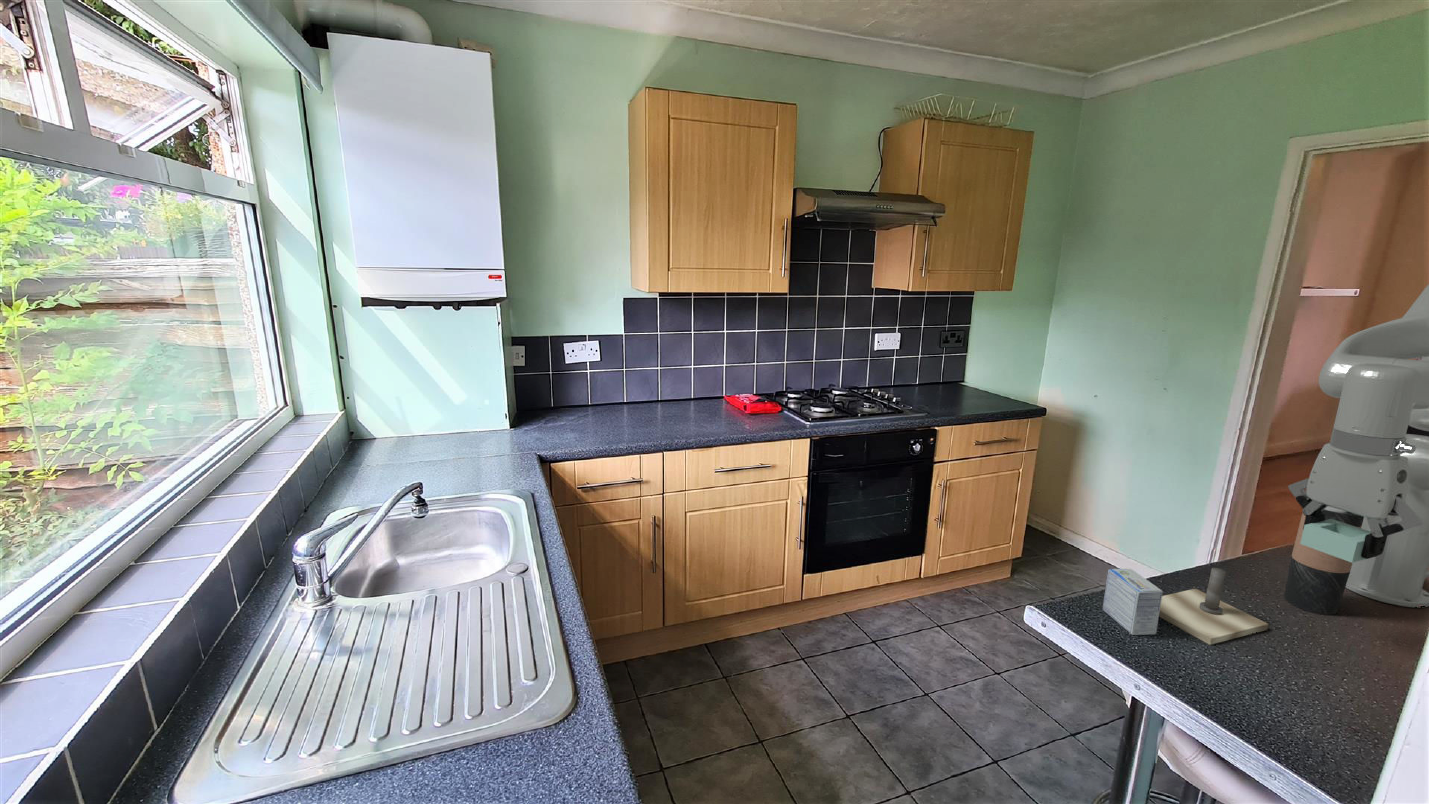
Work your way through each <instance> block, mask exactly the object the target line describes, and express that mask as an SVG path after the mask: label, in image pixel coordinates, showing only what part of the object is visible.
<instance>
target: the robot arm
mask: <svg viewBox="0 0 1429 804" xmlns="http://www.w3.org/2000/svg"><path fill="white" fill-rule="evenodd" d="M1415 359H1416V360H1415ZM1418 359H1422V360H1418ZM1318 386H1319V387H1320V390H1321V391H1322V392H1323V393H1324V394H1325V395H1327V396H1330V397H1332V398H1336V399H1339V402H1338V406H1337V412H1336V415H1335V420H1334V424H1333V428H1332V432H1331V436H1330V440H1329V442H1328V443H1325V444H1323V446H1322V447H1321V448H1322V449H1320V451H1319V453H1318V455H1317V457H1316V459H1315V461H1314V464H1313V465H1312V469H1311V471H1310V473H1309V477H1306V478H1304V479H1302V480H1299V481H1297V482H1294V483H1292V484H1289V485H1287V486H1288V487H1287V488H1288V489H1289V491H1290V492H1291V494H1292V495H1293V496H1294V497H1295V501H1296V502H1297V503H1298V505H1300V507H1301V508H1302V513H1304V514H1306V517H1305V522H1304V525H1306V524H1311V523H1316V522H1321V521H1324V520H1325V514H1323V513H1322V511H1323V510H1324V509H1325V508H1326V507H1327V506H1330V507H1334V508H1337V509H1340V510H1343V511H1347V512H1350V513H1353V514H1357V515H1360V516H1364V519H1363V523H1362V527H1361V529H1365V530H1368V531H1371V534H1367V535H1366V536H1365V542H1364V546H1363V550H1362V554H1361V556H1362V558H1365V559H1364V560H1360V561H1356V562H1353V563H1352V567H1351V571H1350V574H1349V577H1348V580H1347V584H1346V587H1345V589H1348V590H1350V591H1351V592H1353V593H1356V594H1359V595H1361V596H1364V597H1365V598H1369V599H1372V600H1375V601H1378V602H1382V603H1386V604H1390V605H1394V606H1395V605H1396V606H1399V607H1406V608H1415V607H1417V606H1419V605H1424V606H1425V607H1424V608H1427V607H1429V592H1428V591H1426V590H1425V589H1423V586H1424V583H1425V580H1426V579H1428V578H1429V436H1427V435H1421V434H1413V433H1412V434H1410V433H1407V431H1408V428H1409V427H1411V428H1415V429H1417V430H1421V431H1424V432H1429V284H1427V286H1426V287H1425V288H1424V289H1423V291H1422V292H1421V293H1420V294H1419V296H1418V297H1417V298H1416V299H1415V301H1414V302H1413V303H1412V305H1411V306H1410V307H1409V309H1408V310H1407V312H1406V313H1405V314H1404V315H1403V316H1402V317H1400V318H1397V319H1393V320H1389V321H1387V322H1384V323H1383V322H1382V323H1381V324H1377V325H1375V326H1371V327H1368V328H1366V329H1363V330H1360V331H1357V332H1355V333H1353V334H1350V335H1349V336H1348V337H1346V338H1344V340H1342V342H1341V343H1340V344H1339V345H1338V346H1337V347H1336V348H1335V350H1334V351H1333V352H1332V353H1331V354H1330V356H1329V357H1328V358H1327V359H1326V361H1325V363H1324V364H1323V366H1322V367H1321V370H1320V373H1319V375H1318ZM1303 530H1304V526H1303ZM1378 555H1379V556H1378ZM1417 608H1418V607H1417Z"/></svg>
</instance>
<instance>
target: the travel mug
mask: <svg viewBox="0 0 1429 804" xmlns="http://www.w3.org/2000/svg"><path fill="white" fill-rule="evenodd" d="M1322 513H1323V514H1325V520H1328V519H1333V520H1336V521H1339V522H1342V523H1346V524H1349V525H1352V526H1355V527H1358V528H1361V527H1362V523H1363V519H1364V516H1360V515H1357V514H1353V513H1350V512H1347V511H1343V510H1340V509H1337V508H1334V507H1330V506H1327V507H1326V508H1325V509H1324V510H1323V511H1322ZM1305 517H1306V514H1304V513H1303V512H1302V513H1301V517H1300V521H1299V526H1298V529H1297V532H1296V533H1297V534H1296V538H1295V541H1294V544H1293V549H1292V553H1291V557H1290V561H1289V567H1288V573H1287V578H1286V582H1285V590H1284V595H1283V598H1284V599H1285V602H1287V603H1288V604H1291V605H1292V606H1294V607H1296V608H1299V609H1301V610H1304V611H1306V612H1310V613H1313V614H1317V613H1318V615H1325V616H1332V615H1336V614H1337V612H1338V611H1339V607H1340V605H1341V602H1342V599H1343V595H1344V592H1345V589H1346V584H1347V580H1348V577H1349V574H1350V571H1351V567H1352V563H1351V562H1349V561H1346V560H1343V559H1340V558H1338V557H1335V556H1332V555H1329V554H1327V553H1324V552H1321V551H1318V550H1316V549H1313V548H1310V547H1307V546H1305V545H1302V544H1300V543H1301V538H1302V534H1303V526H1304V522H1305Z"/></svg>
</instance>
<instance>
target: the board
mask: <svg viewBox="0 0 1429 804" xmlns="http://www.w3.org/2000/svg"><path fill="white" fill-rule="evenodd" d="M1226 575H1227V571H1226V570H1224V569H1223V568H1219V567H1211V570H1210V575H1209V580H1208V585H1207V589H1206V593H1205V592H1204V591H1201V590H1199V589H1197V588H1191V589H1188V590H1183V591H1179V592H1174V593H1171V594H1165V595H1162V600H1161V606H1160V612H1159V617H1160V618H1161V619H1163V620H1164V621H1166V622H1168V623H1169V624H1172V625H1173V626H1175V627H1177V628H1179V629H1181V630H1182V631H1184V632H1185V633H1187V634H1189V635H1191V636H1193V637H1194V638H1196V639H1198V640H1200V641H1202V642H1204V643H1205V644H1207V645H1209V646H1211V645H1215V644H1218V643H1223V642H1225V641H1230V640H1234V639H1238V638H1241V637H1245V636H1249V635H1253V634H1256V632H1257V633H1260V632H1264V631H1267V630H1268V627H1269V623H1267V622H1265V621H1263V620H1261V619H1259V618H1257V617H1255V616H1253V615H1251V614H1249V613H1247V612H1244V611H1243V610H1240V609H1239V608H1236V607H1234V606H1232V605H1230V604H1228V603H1227V602H1224V601H1222V600H1221V598H1222V593H1223V590H1224V584H1225V580H1226ZM1252 633H1253V634H1252Z"/></svg>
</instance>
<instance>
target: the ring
mask: <svg viewBox="0 0 1429 804" xmlns="http://www.w3.org/2000/svg"><path fill="white" fill-rule="evenodd" d="M1367 534H1371V531H1368V530H1365V529H1361V528H1358V527H1355V526H1352V525H1349V524H1346V523H1342V522H1339V521H1336V520H1333V519H1328V520H1324V521H1321V522H1316V523H1311V524H1306V525H1304V530H1303V534H1302V538H1301V543H1300V544H1302V545H1305V546H1307V547H1310V548H1313V549H1316V550H1318V551H1321V552H1324V553H1327V554H1329V555H1332V556H1335V557H1338V558H1340V559H1343V560H1346V561H1349V562H1351V563H1353V562H1356V561H1360V560H1364V559H1365V558H1362V556H1361V554H1362V550H1363V546H1364V542H1365V536H1366V535H1367ZM1378 556H1379V555H1378Z"/></svg>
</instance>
